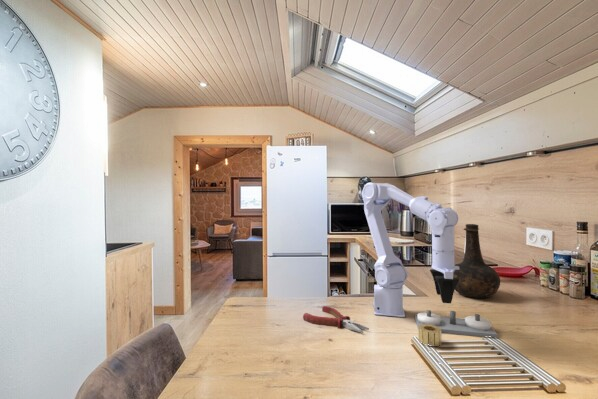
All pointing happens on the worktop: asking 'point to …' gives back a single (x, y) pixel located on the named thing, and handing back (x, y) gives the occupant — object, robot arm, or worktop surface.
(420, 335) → the brass gear
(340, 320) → the pliers
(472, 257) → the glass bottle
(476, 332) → the gear board
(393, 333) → the worktop surface
